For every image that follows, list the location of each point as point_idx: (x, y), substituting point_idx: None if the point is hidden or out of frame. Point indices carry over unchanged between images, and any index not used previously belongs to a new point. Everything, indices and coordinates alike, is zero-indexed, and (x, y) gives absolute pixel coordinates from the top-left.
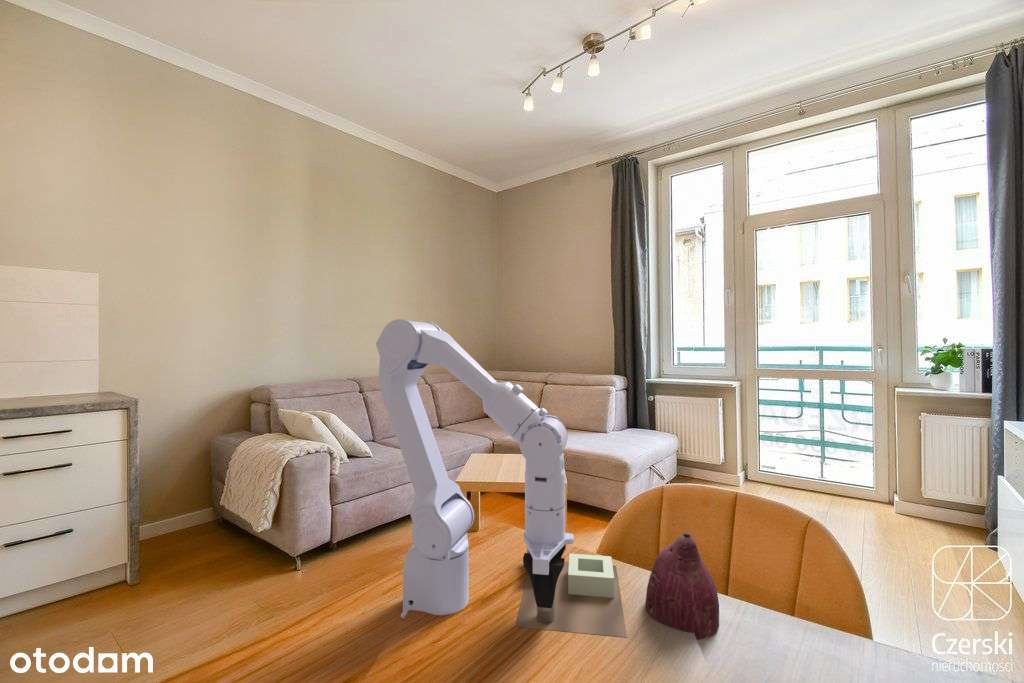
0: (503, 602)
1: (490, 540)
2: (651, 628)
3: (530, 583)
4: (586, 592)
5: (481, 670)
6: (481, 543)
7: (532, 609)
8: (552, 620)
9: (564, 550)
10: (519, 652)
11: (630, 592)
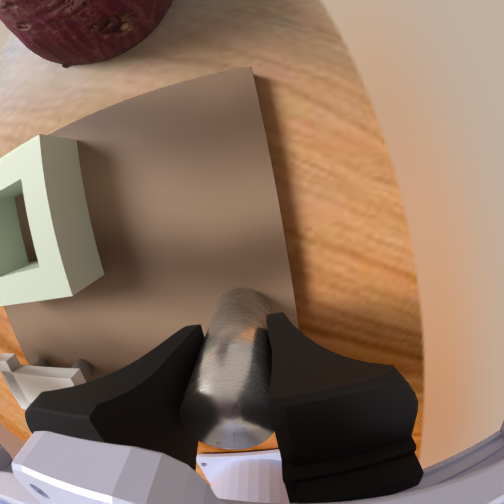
0: None
1: None
2: (161, 35)
3: None
4: (85, 222)
5: (415, 371)
6: None
7: None
8: (255, 292)
9: (105, 400)
10: (361, 332)
11: (35, 120)
